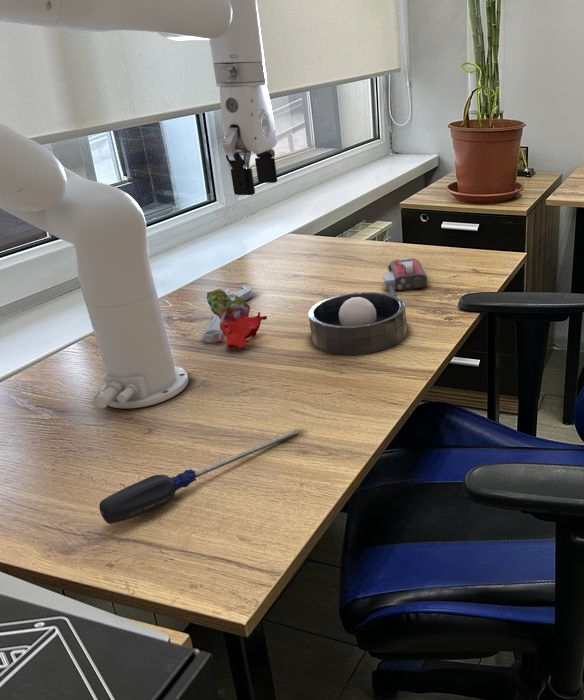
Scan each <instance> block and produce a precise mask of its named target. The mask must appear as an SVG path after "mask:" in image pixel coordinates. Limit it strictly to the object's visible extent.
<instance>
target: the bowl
mask: <svg viewBox="0 0 584 700" xmlns="http://www.w3.org/2000/svg"><path fill="white" fill-rule="evenodd" d="M396 296H397V295H396ZM396 296H393V295H391V294H389V293H384V292H376V291H359V292H350V293H344V294H339V295H338V294H337V295H334V296H331V297H329V298H327V299H323V300H321V301H319V302H317V303H316V304H314V305H313V306H312V307H311V308H310V309H309V311H308V320H309V327H310V334H311V341H312V343H313V345H314V347H316V348H317V349H318V350H320V351H322V352H325V353H327V354H328V353H329V354H332V355H341V356H356V355H357V356H359V355H368V354H372V353H377V352H380V351H384V350H387V349H390V348H392V347H394V346H396V345H397V344H400V342H402V341H403V340H404V338H405V337H406V336H407V329H408V326H407V314H406V313H407V312H406V305H405V301H403V299H401V298H399V297H398V296H397V297H396ZM355 297H361V298H364V299H367V300H368V301H369V302H371V303H372V304H373V306H374V308H375V310H376V317H377V318H376V321H375V323H371V324H366V325H358V326H342V325H341V323H340V321H339V311H340V308H341V306H342V305H343V304H344V302H345V301H347V300H349V299H351V298H355Z"/></svg>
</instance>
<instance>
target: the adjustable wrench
mask: <svg viewBox="0 0 584 700" xmlns="http://www.w3.org/2000/svg"><path fill="white" fill-rule="evenodd" d="M222 290H223V291H225V293H226V294H227V295H228V297H229V298H230V299H231V300H234V299H235V295H237V296H238V297H239V298H245V301H247V300H249V299H250V298H252V297H253V290H252V287H251V286H249V285H244V284H243V285H241V289H240V290H237V291H232V292H231V291H230V289H229V288H224V289H222ZM220 321H221V320H220V318H219V317H218V315H215V314H214V316H213V317H212V319H211V321H210V323H209V324H208V326H207V327H206V329H205V331H204V332H203V336H204V341H205V342H206V343H216V341H218V340H222V337H223V335H224V334H223V332H222V330H221V329H220ZM218 331H219V332H218Z"/></svg>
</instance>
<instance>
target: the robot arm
mask: <svg viewBox="0 0 584 700" xmlns="http://www.w3.org/2000/svg"><path fill="white" fill-rule="evenodd" d="M0 22H4V23H14V24H22V25H30V26H36V27H37V26H38V27H47V28H52V29H53V28H54V29H60V30H68V31H77V32H91V33H92V32H93V33H106V32H123V31H124V32H127V31H129V32H145V33H147V32H148V33H156V34H158V35H160V36H161V37H163V38H165V39H168V40H172V41H209V48H210V53H211V59H212V65H213V74H214V79H215V85H216V87H217V88H219V101H220V115H221V123H222V130H223V137H224V139H223V141H222V147H223V151H224V153H225V159H226V161H227V162H228V169H229V170H230V175H231V182H232V190H233V193H234V195H236V196H253V195H255V194H256V190H255V183H254V176H253V175H254V173H253V168H250V162H251V156H252V154H254V155H256V157H255V158H254V163H255V170H256V176H257V181H258V183H259V184H275V183H278V173H277V167H276V159H275V156H276V152H275V150H274V148H275V147H276V146H277V143H278V137H277V131H276V124H275V119H274V113H273V112H274V111H273V108H272V103H271V99H270V93H269V90H268V87H267V85H268V79H267V71H266V63H265V53H264V47H263V40H262V39H263V38H262V31H261V23H260V15H259V8H258V0H0ZM0 210H2V211H4V212H6V213H8V214H10V215H12V216H13V217H16V218H17V219H20V220H22V221H24V222H26V223H27V224H30V225H32V226H34V227H35V228H38V229H39V230H42V231H43V232H46V233H47V234H50V235H52V236H54V237H55V238H57V239H60V240H62V241H64V242H67V243H69V244H71V245H73V248H74V250H75V256H76V265H77V274H78V281H79V285H80V291H81V293H82V297H83V301H84V303H85V306H86V310H87V313H88V317H89V320H90V324H91V327H92V331H93V334H94V337H95V341H96V345H97V348H98V351H99V355H100V359H101V362H102V365H103V369H104V373H105V376H104V378H103V380H104V384H103V385H102V386H101V387H100V390H99V394H98V395H97V396H96V397H94V398H93V403H94V405H95V406H96V407H97V408H99V409H105V408H107V407H110V408H115V409H122V410H123V409H127V410H128V409H140V408H144V407H149V406H154V405H157V404H160V403H162V402H165V401H167V400H169V399H172V398H174V397H175V396H177V395H179V394H180V393H181V392H182V391H184V390H185V388H186V387H187V385H188V384H189V375H188V373H187V371H186V370H185V369H184V368H182V367H179V366H176V365H175V363H174V359H173V355H172V351H171V346H170V342H169V337H168V333H167V330H166V326H165V325H166V324H165V321H164V317H163V312H162V308H161V303H160V299H159V296H158V292H157V288H156V284H155V279H154V276H153V272H152V271H153V270H152V265H151V261H150V254H149V253H150V252H149V241H148V239H149V238H148V227H147V221H146V219H145V215H144V212H143V210H142V208H141V206H140V205H139V203H138V202H137V201H136V199H134V198H133V197H132V196H131V195H130V194H128V193H127V192H125V191H124V190H122V189H120V188H118V187H116V186H113V185H110V184H107V183H103V182H99V181H95V180H91V179H87V178H85V177H83V176H81V175H79V174H77V173H76V172H74V171H73V170H71V169H68V168H67V167H65V166H64V165H62V163H61V162H60V161H59V159H58V158H57V157H56V156H55V155H54V153H52V152H51V151H50V150H49V149H47V148H46V147H45V146H44V145H43V144H41V143H39V142H37V141H35V140H33V139H30V138H28V137H26V136H24V135H23V134H21V133H20V132H18V131H16V130H14V129H12V128H10V126H7V125H5V123H2V122H0Z"/></svg>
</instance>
